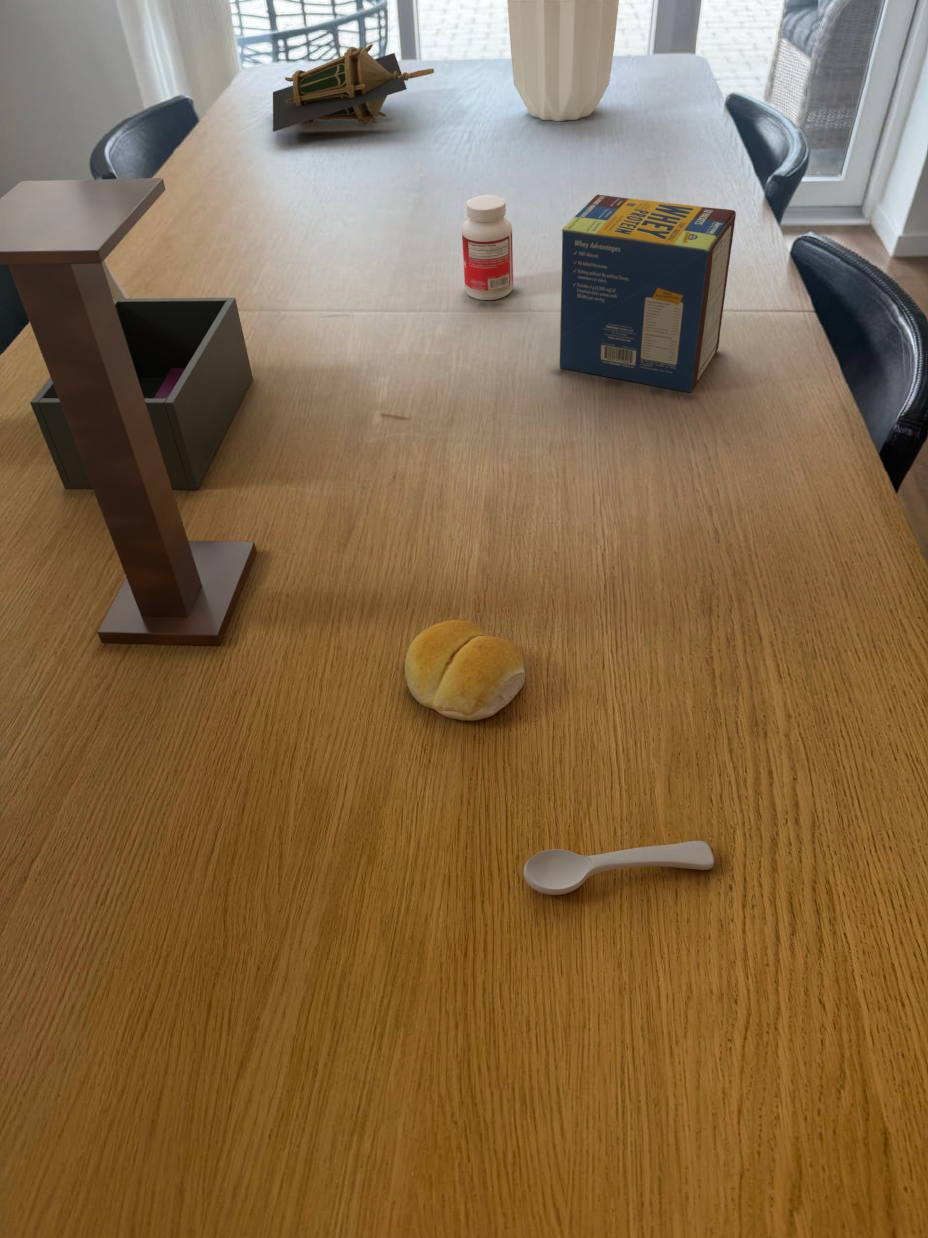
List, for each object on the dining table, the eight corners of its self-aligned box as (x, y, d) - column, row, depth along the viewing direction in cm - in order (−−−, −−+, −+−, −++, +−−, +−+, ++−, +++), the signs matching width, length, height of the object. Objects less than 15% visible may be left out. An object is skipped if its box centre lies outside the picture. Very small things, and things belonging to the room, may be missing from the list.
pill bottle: (478, 277, 126) (474, 189, 118) (521, 284, 124) (520, 195, 116) (456, 297, 122) (451, 207, 114) (500, 304, 120) (498, 214, 112)
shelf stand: (101, 642, 78) (-66, 252, 57) (149, 549, 87) (20, 180, 65) (220, 646, 77) (97, 250, 56) (257, 551, 86) (163, 177, 64)
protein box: (590, 328, 114) (595, 192, 104) (719, 350, 109) (739, 209, 98) (556, 368, 107) (559, 228, 97) (692, 394, 102) (710, 248, 91)
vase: (501, 101, 183) (497, -76, 164) (602, 92, 184) (610, -84, 165) (516, 132, 169) (514, -57, 150) (626, 123, 170) (638, -67, 151)
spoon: (518, 863, 61) (520, 845, 60) (700, 845, 62) (706, 827, 61) (526, 905, 59) (529, 887, 58) (714, 885, 60) (721, 867, 59)
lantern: (289, 129, 190) (432, 70, 186) (294, 181, 174) (450, 118, 171) (258, 58, 180) (408, -6, 176) (260, 106, 164) (424, 38, 161)
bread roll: (451, 626, 78) (448, 589, 75) (541, 675, 73) (541, 637, 71) (381, 687, 73) (375, 649, 70) (472, 742, 69) (469, 704, 66)
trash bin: (64, 488, 95) (29, 402, 88) (137, 378, 111) (112, 298, 104) (198, 490, 94) (172, 402, 87) (253, 378, 109) (235, 297, 103)
